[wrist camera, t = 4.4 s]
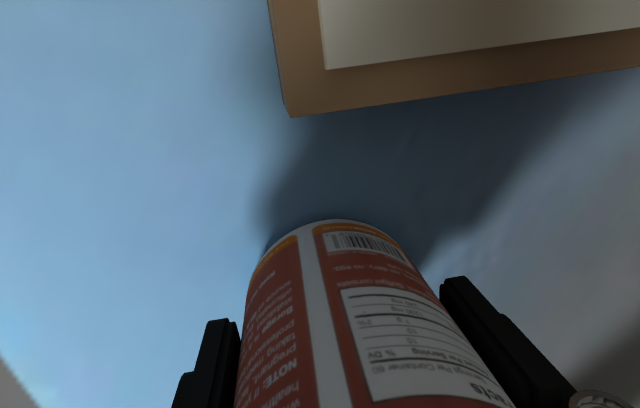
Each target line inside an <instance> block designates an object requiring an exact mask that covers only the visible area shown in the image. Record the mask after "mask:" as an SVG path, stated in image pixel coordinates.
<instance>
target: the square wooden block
mask: <svg viewBox="0 0 640 408" xmlns="http://www.w3.org/2000/svg"><path fill="white" fill-rule="evenodd" d="M267 5H268V11H269V17H270V23H271V30H272V36H273V42H274V48H275V55H276V61H277V67H278V73H279V79H280V86H281V92H282V98H283V103H284V105H285V107H286V109H287V112H288V114H289V116H290V118H294V117H301V116H308V115H315V114H321V113H328V112H335V111H342V110H349V109H355V108H362V107H369V106H376V105H383V104H389V103H396V102H403V101H410V100H417V99H423V98H430V97H437V96H444V95H450V94H457V93H464V92H471V91H478V90H484V89H491V88H498V87H505V86H512V85H518V84H525V83H532V82H539V81H546V80H552V79H559V78H566V77H573V76H580V75H586V74H593V73H600V72H607V71H613V70H620V69H627V68H634V67H640V0H267Z"/></svg>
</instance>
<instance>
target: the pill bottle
mask: <svg viewBox="0 0 640 408" xmlns="http://www.w3.org/2000/svg"><path fill="white" fill-rule="evenodd" d="M233 408H516V407H515V406H514V404H513V403H512V401H511V400H510V399H509V397H508V396H507V394H506V393H505V392H504V390H503V389H502V387H501V386H500V385H499V383H498V382H497V380H496V379H495V378H494V376H493V375H492V373H491V372H490V371H489V369H488V368H487V366H486V365H485V364H484V362H483V361H482V359H481V358H480V356H479V355H478V354H477V352H476V351H475V350H474V348H473V347H472V346H471V344H470V343H469V341H468V340H467V339H466V337H465V336H464V334H463V333H462V332H461V330H460V329H459V327H458V326H457V325H456V323H455V322H454V320H453V319H452V318H451V316H450V315H449V313H448V312H447V310H446V309H445V308H444V306H443V305H442V304H441V302H440V301H439V299H438V298H437V297H436V295H435V294H434V292H433V291H432V290H431V288H430V287H429V285H428V284H427V283H426V281H425V280H424V278H423V277H422V275H421V274H420V272H419V271H418V270H417V268H416V267H415V266H414V264H413V263H412V261H411V260H410V259H409V257H408V256H407V255H406V253H405V252H404V251H403V249H402V248H401V247H400V246H399V245H398V244H397V243H396V242H395V241H394V240H393V239H392V238H391V237H390V236H388V235H387V234H386V233H384V232H383V231H381V230H379V229H377V228H375V227H373V226H371V225H368V224H366V223H362V222H358V221H354V220H347V219H328V220H322V221H317V222H313V223H310V224H307V225H304V226H302V227H299V228H297V229H295V230H293V231H291V232H289V233H288V234H286V235H285V236H283V237H282V238H280V239H279V240H278V241H277V242H276V243H275V244H274V245H273V246H272V247H270V248H269V250H268V251H267V252H266V253H265V254H264V255H263V257H262V258H261V260H260V261H259V262H258V264H257V266H256V268H255V270H254V272H253V274H252V277H251V280H250V283H249V287H248V292H247V297H246V305H245V313H244V322H243V330H242V338H241V346H240V355H239V363H238V371H237V380H236V388H235V396H234V404H233Z"/></svg>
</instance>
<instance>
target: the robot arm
mask: <svg viewBox="0 0 640 408" xmlns="http://www.w3.org/2000/svg"><path fill="white" fill-rule="evenodd" d="M439 301H440V302H441V304H442V305H443V306H444V308H445V309H446V310H447V312H448V313H449V315H450V316H451V318H452V319H453V320H454V322H455V323H456V325H457V326H458V327H459V329H460V330H461V332H462V333H463V334H464V336H465V337H466V339H467V340H468V341H469V343H470V344H471V346H472V347H473V348H474V350H475V351H476V352H477V354H478V355H479V356H480V358H481V359H482V361H483V362H484V364H485V365H486V366H487V368H488V369H489V371H490V372H491V373H492V375H493V376H494V378H495V379H496V380H497V382H498V383H499V385H500V386H501V387H502V389H503V390H504V392H505V393H506V394H507V396H508V397H509V399H510V400H511V401H512V403H513V404H514V406H515V407H516V408H634V407H633V406H631V405H630V404H628V403H627V402H625V401H623V400H622V399H620V398H618V397H615V396H613V395H611V394H608V393H605V392H601V391H596V390H583V391H579V392H577V391H576V390H575V389H574V387H573V386H572V385H571V384H570V383H569V382H568V381H567V380H566V379H565V378H564V377H563V376H562V375H561V374H560V372H559V371H558V370H557V369H556V368H555V367H554V366H553V365H552V364H551V363H550V362H549V361H548V360H547V359H546V357H545V356H544V355H543V354H542V353H541V352H540V351H539V350H538V349H537V348H536V347H535V346H534V345H533V344H532V342H531V341H530V340H529V339H528V338H527V337H526V336H525V335H524V334H523V333H522V332H521V331H520V330H519V328H518V327H517V326H516V325H515V324H514V323H513V322H512V321H511V320H510V319H509V318H508V317H507V316H506V315H504V314H500V313H499V312H498V311H497V310H496V309H495V308H494V307H493V306H492V305H491V304H490V302H489V301H488V300H487V299H486V298H485V297H484V296H483V295H482V294H481V293H480V292H479V290H478V289H477V288H476V287H475V286H474V285H473V284H472V283H471V282H470V281H469V279H468V278H467V277H465V276H458V277H452V278H447V279H445V281H444V284H441V285H440V290H439ZM240 346H241V340H240V336H239V333H238V329H237V326H236V323H235V322H229V319H228V318H223V319H218V320H212V321H208V323H207V325H206V329H205V332H204V336H203V340H202V343H201V347H200V350H199V354H198V358H197V361H196V365H195V368H194V371H192V372H187V373H184V374H183V375H182V376H181V379H180V381H179V384H178V388H177V391H176V394H175V397H174V400H173V403H172V407H171V408H233V404H234V396H235V388H236V380H237V371H238V363H239V355H240Z"/></svg>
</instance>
